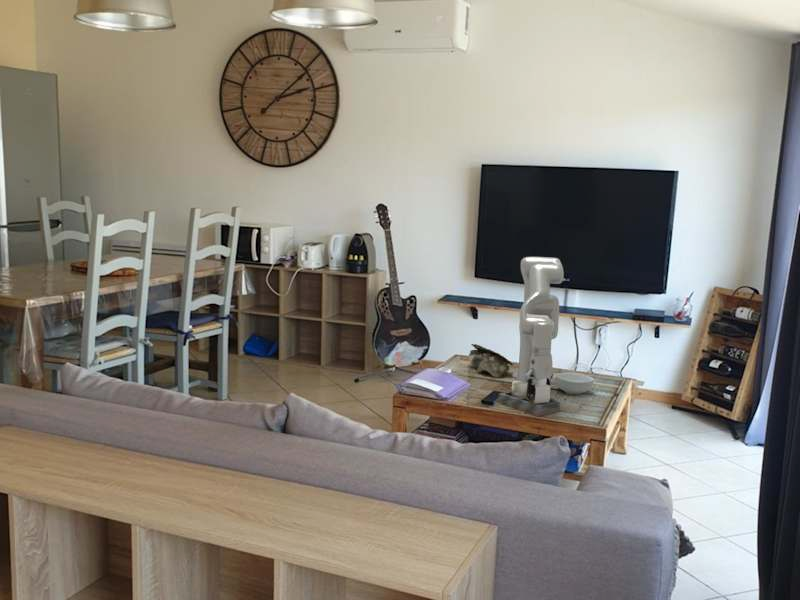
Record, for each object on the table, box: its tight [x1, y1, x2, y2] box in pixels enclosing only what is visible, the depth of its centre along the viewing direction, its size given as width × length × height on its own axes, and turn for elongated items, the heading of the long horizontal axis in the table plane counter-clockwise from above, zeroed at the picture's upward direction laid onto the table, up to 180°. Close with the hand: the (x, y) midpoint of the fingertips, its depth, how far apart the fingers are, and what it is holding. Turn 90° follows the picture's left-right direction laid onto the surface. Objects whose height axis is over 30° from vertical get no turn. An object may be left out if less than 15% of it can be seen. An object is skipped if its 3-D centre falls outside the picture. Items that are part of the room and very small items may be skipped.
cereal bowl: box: [554, 372, 594, 395], centre depth 361 cm, size 17×17×7 cm
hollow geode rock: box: [468, 343, 514, 378], centre depth 392 cm, size 28×13×15 cm
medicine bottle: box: [526, 376, 551, 404], centre depth 331 cm, size 7×7×12 cm
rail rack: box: [498, 380, 562, 417], centre depth 336 cm, size 22×13×9 cm, turn 40°
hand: (538, 391), depth 332 cm, fingers closed on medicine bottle, 9 cm apart
